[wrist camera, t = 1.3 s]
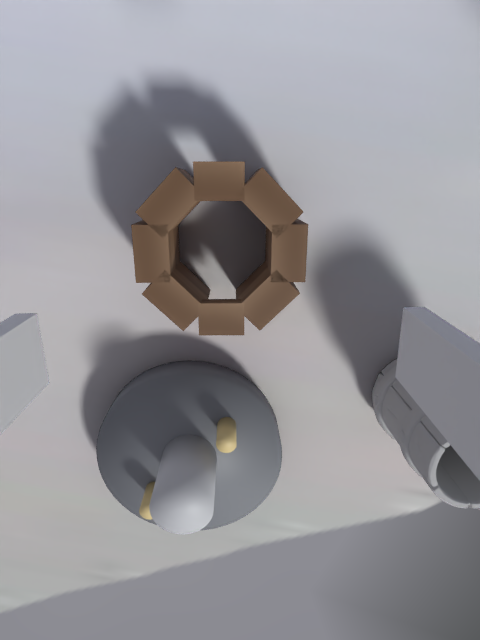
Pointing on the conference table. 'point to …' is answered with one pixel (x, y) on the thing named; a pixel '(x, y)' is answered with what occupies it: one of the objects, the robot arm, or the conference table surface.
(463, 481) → the mug
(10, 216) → the conference table surface
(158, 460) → the flange base
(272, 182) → the collar
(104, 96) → the conference table surface
